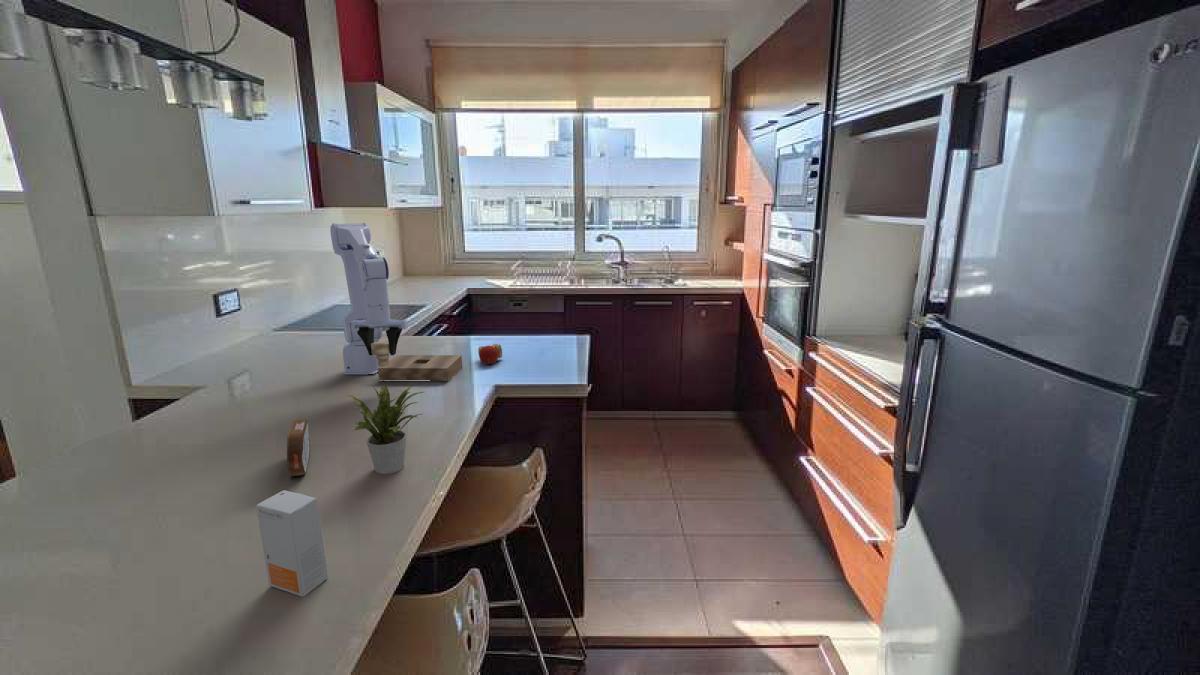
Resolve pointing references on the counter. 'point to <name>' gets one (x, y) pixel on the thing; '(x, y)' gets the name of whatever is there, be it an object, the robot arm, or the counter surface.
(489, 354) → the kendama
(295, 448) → the tin
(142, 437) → the counter surface
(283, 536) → the skincare box
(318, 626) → the counter surface
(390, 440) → the house plant
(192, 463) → the counter surface
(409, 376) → the board
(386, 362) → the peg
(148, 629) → the counter surface
